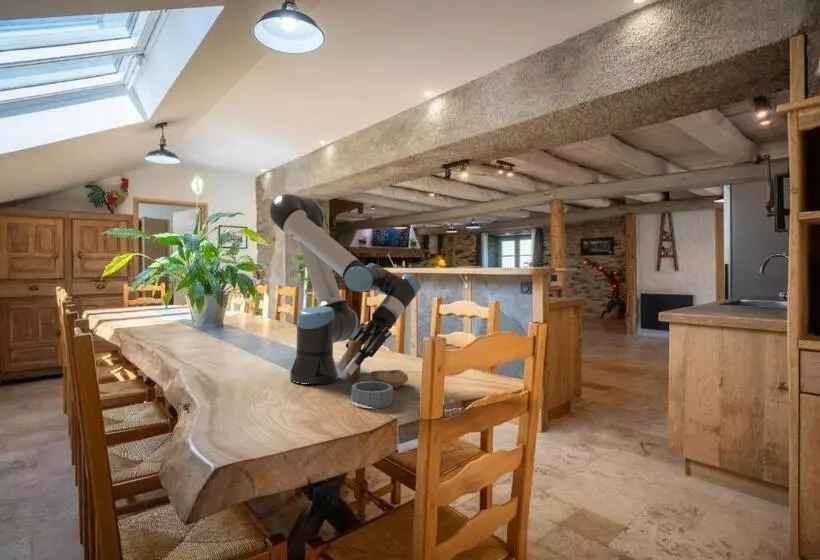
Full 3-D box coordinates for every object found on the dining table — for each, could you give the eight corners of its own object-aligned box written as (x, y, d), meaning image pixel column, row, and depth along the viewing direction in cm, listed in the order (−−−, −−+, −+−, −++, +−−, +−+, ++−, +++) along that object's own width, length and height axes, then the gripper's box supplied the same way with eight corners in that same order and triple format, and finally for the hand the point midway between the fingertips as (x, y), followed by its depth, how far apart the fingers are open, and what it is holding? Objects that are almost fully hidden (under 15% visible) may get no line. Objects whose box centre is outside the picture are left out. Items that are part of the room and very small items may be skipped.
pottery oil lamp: (376, 378, 144) (386, 360, 145) (403, 397, 138) (414, 377, 139) (363, 374, 137) (374, 354, 137) (391, 394, 130) (403, 373, 131)
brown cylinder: (344, 381, 130) (346, 342, 130) (349, 378, 134) (351, 340, 134) (356, 383, 129) (358, 343, 129) (361, 380, 133) (363, 341, 132)
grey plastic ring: (345, 406, 115) (345, 389, 115) (360, 395, 126) (361, 379, 126) (384, 411, 113) (384, 394, 112) (396, 399, 123) (397, 383, 123)
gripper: (411, 324, 136) (368, 384, 125) (376, 317, 148) (333, 372, 137) (400, 307, 132) (354, 368, 121) (365, 302, 144) (320, 357, 133)
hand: (343, 370), depth 129 cm, fingers closed on brown cylinder, 4 cm apart
